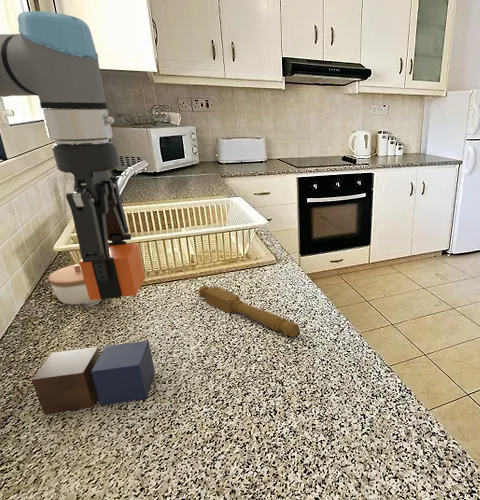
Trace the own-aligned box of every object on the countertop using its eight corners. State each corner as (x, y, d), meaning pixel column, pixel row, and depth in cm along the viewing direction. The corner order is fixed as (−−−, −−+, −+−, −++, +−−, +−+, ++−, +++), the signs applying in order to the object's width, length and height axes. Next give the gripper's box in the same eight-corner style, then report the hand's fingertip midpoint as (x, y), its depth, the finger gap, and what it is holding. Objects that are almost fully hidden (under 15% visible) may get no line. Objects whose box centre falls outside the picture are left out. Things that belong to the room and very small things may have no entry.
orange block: (89, 300, 58) (78, 261, 55) (103, 282, 63) (94, 246, 61) (136, 295, 59) (127, 257, 57) (145, 278, 65) (138, 243, 63)
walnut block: (43, 414, 56) (31, 379, 53) (62, 385, 62) (51, 352, 59) (93, 406, 57) (83, 372, 55) (106, 378, 63) (98, 346, 61)
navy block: (100, 405, 58) (90, 371, 55) (113, 377, 63) (105, 345, 61) (146, 398, 59) (139, 364, 57) (155, 371, 65) (148, 340, 63)
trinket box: (46, 307, 84) (34, 269, 80) (92, 288, 93) (83, 253, 90) (78, 318, 80) (67, 279, 77) (123, 296, 89) (115, 260, 86)
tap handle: (290, 328, 73) (194, 286, 88) (290, 341, 74) (196, 298, 90) (300, 321, 76) (205, 282, 91) (300, 333, 77) (207, 293, 92)
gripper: (89, 148, 45) (127, 314, 53) (131, 136, 62) (155, 262, 71) (15, 149, 43) (67, 321, 51) (79, 136, 61) (111, 266, 69)
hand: (118, 287), depth 61 cm, fingers closed on orange block, 6 cm apart
